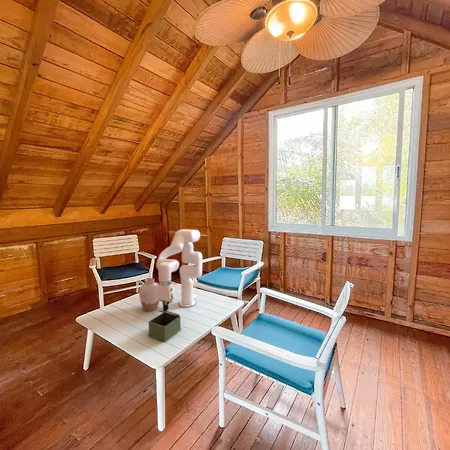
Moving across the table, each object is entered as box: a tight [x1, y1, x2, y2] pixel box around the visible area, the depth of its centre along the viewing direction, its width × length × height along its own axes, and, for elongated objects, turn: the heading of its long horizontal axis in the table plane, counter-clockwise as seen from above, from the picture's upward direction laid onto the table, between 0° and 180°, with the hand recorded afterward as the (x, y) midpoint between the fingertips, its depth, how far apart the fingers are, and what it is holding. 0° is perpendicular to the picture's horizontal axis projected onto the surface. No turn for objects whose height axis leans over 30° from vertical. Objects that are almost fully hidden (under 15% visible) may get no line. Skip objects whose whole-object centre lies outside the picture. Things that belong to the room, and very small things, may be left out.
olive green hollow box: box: [148, 312, 182, 343], centre depth 159 cm, size 15×13×10 cm
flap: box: [157, 309, 180, 316], centre depth 161 cm, size 7×13×1 cm, turn 63°
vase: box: [138, 277, 161, 312], centre depth 190 cm, size 16×16×23 cm
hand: (165, 310), depth 158 cm, fingers closed
